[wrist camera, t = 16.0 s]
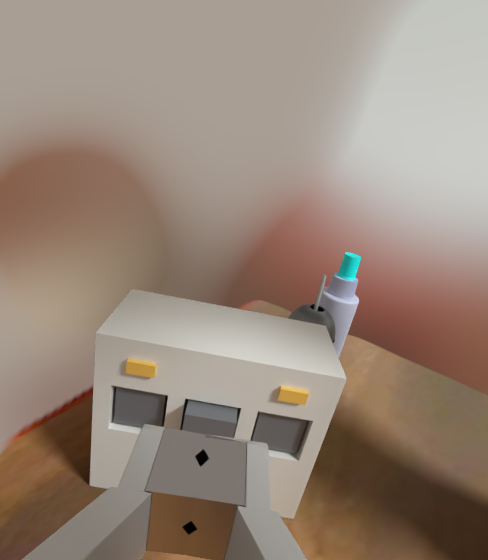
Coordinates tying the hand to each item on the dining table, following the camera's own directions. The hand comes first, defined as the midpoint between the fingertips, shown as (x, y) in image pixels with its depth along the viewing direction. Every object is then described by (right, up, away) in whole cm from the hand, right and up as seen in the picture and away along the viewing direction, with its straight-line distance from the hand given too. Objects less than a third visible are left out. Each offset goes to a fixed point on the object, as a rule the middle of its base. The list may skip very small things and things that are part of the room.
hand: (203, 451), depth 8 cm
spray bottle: (+13, -12, +51) cm, 54 cm away
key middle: (-3, -11, +24) cm, 26 cm away
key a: (-9, -9, +25) cm, 28 cm away
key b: (+4, -11, +26) cm, 28 cm away
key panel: (-4, -17, +31) cm, 35 cm away
